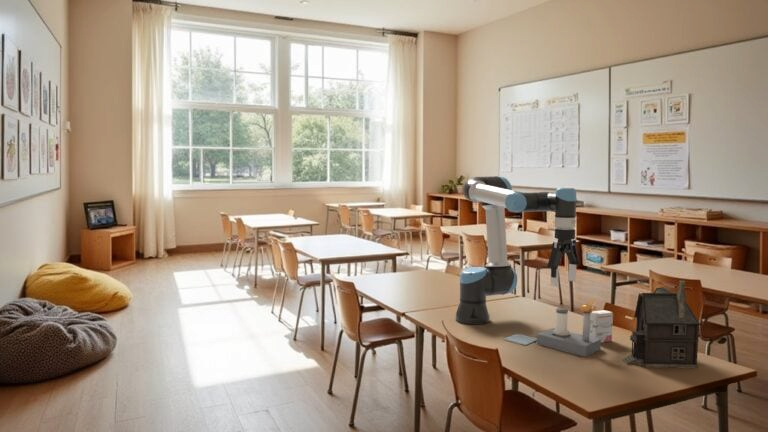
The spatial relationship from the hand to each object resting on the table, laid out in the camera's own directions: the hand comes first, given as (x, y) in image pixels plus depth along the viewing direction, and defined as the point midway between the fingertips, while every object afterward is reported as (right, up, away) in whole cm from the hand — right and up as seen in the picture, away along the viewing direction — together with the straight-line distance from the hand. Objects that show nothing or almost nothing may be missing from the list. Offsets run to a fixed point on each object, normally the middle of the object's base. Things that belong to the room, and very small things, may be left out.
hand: (563, 283), depth 214 cm
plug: (0, -24, +2) cm, 24 cm away
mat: (-14, -24, +8) cm, 29 cm away
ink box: (+17, -24, +8) cm, 30 cm away
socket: (+2, -24, 0) cm, 24 cm away
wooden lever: (+10, -12, -1) cm, 16 cm away
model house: (+28, -26, -13) cm, 41 cm away
